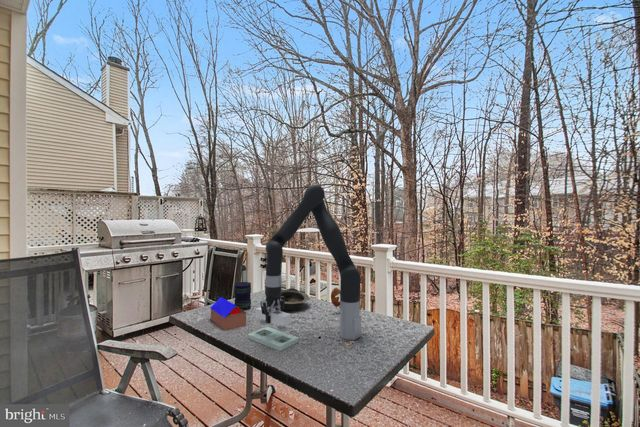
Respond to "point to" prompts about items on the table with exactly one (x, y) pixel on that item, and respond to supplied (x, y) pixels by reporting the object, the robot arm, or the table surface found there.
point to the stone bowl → (293, 299)
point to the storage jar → (243, 295)
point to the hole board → (273, 338)
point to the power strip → (275, 318)
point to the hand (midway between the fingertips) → (272, 321)
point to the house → (227, 314)
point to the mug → (333, 298)
